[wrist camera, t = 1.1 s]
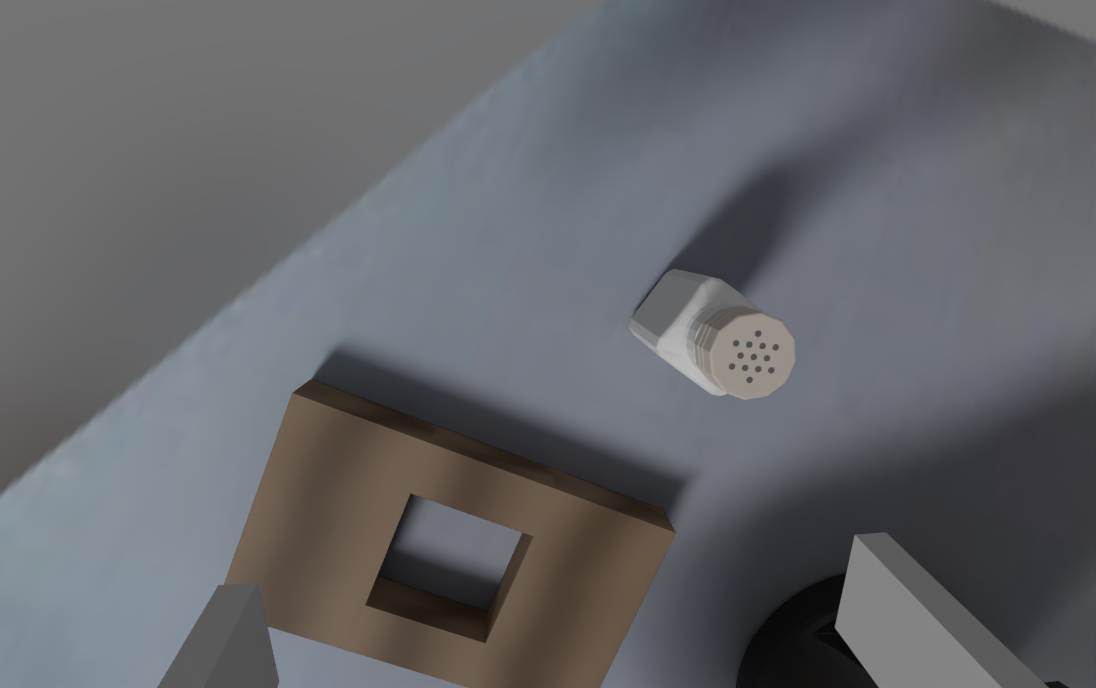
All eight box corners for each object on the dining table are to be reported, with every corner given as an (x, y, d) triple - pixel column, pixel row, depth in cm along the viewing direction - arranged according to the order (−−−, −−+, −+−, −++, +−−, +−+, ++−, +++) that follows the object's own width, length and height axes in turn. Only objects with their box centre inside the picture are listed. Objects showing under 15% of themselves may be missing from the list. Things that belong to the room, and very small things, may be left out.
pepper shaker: (728, 308, 29) (831, 344, 20) (680, 369, 30) (759, 431, 20) (669, 262, 29) (747, 277, 19) (621, 326, 29) (675, 369, 20)
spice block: (662, 509, 31) (676, 533, 29) (577, 685, 33) (582, 722, 31) (310, 379, 28) (292, 392, 26) (238, 579, 30) (214, 610, 28)
